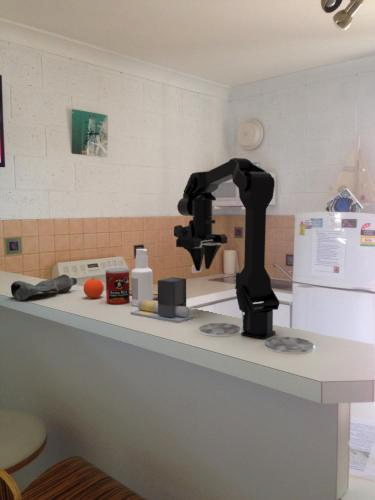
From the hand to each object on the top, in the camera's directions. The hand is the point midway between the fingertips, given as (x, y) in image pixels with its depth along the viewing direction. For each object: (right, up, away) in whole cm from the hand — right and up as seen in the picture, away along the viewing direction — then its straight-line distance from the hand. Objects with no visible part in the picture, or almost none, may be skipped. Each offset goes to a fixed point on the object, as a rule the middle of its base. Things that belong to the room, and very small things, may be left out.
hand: (202, 269), depth 136 cm
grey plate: (-12, -13, -1) cm, 18 cm away
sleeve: (-9, -13, -3) cm, 16 cm away
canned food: (-28, -12, +18) cm, 35 cm away
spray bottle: (-19, -12, +14) cm, 27 cm away
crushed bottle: (-55, -11, +31) cm, 64 cm away
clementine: (-37, -11, +26) cm, 46 cm away
